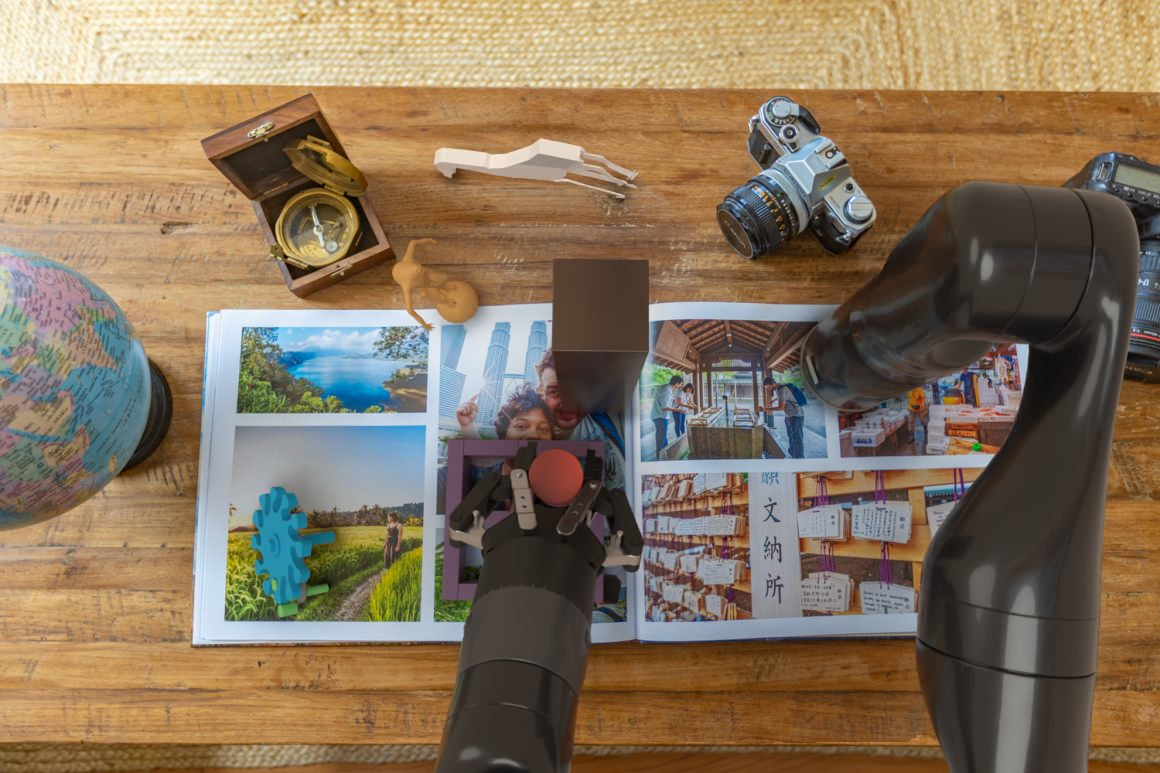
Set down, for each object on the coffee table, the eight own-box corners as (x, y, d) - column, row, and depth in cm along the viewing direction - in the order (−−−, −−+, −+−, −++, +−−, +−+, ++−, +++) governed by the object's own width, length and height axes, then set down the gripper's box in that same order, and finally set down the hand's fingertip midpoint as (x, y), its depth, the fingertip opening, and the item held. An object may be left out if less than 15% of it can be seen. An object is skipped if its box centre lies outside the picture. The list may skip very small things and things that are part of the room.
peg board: (603, 445, 73) (604, 441, 69) (602, 598, 71) (603, 602, 67) (455, 443, 73) (448, 438, 70) (449, 596, 71) (441, 600, 67)
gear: (242, 486, 71) (292, 489, 64) (304, 480, 75) (358, 482, 68) (246, 610, 71) (297, 626, 64) (309, 596, 75) (363, 611, 68)
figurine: (479, 350, 75) (460, 317, 63) (416, 349, 75) (385, 316, 63) (482, 266, 76) (464, 219, 65) (420, 266, 76) (390, 218, 65)
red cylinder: (583, 459, 66) (583, 449, 58) (583, 507, 65) (583, 504, 57) (535, 458, 66) (529, 448, 58) (534, 507, 65) (527, 503, 57)
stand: (626, 350, 75) (649, 259, 49) (626, 413, 74) (649, 352, 48) (563, 349, 75) (553, 257, 49) (562, 412, 74) (551, 351, 48)
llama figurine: (597, 204, 84) (432, 156, 78) (646, 165, 74) (459, 105, 67) (595, 221, 84) (429, 174, 77) (644, 183, 73) (456, 125, 67)
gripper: (414, 654, 50) (471, 477, 64) (636, 686, 50) (645, 501, 64) (411, 573, 46) (473, 403, 60) (654, 608, 45) (659, 428, 59)
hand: (561, 454), depth 62 cm, fingers closed on red cylinder, 4 cm apart
